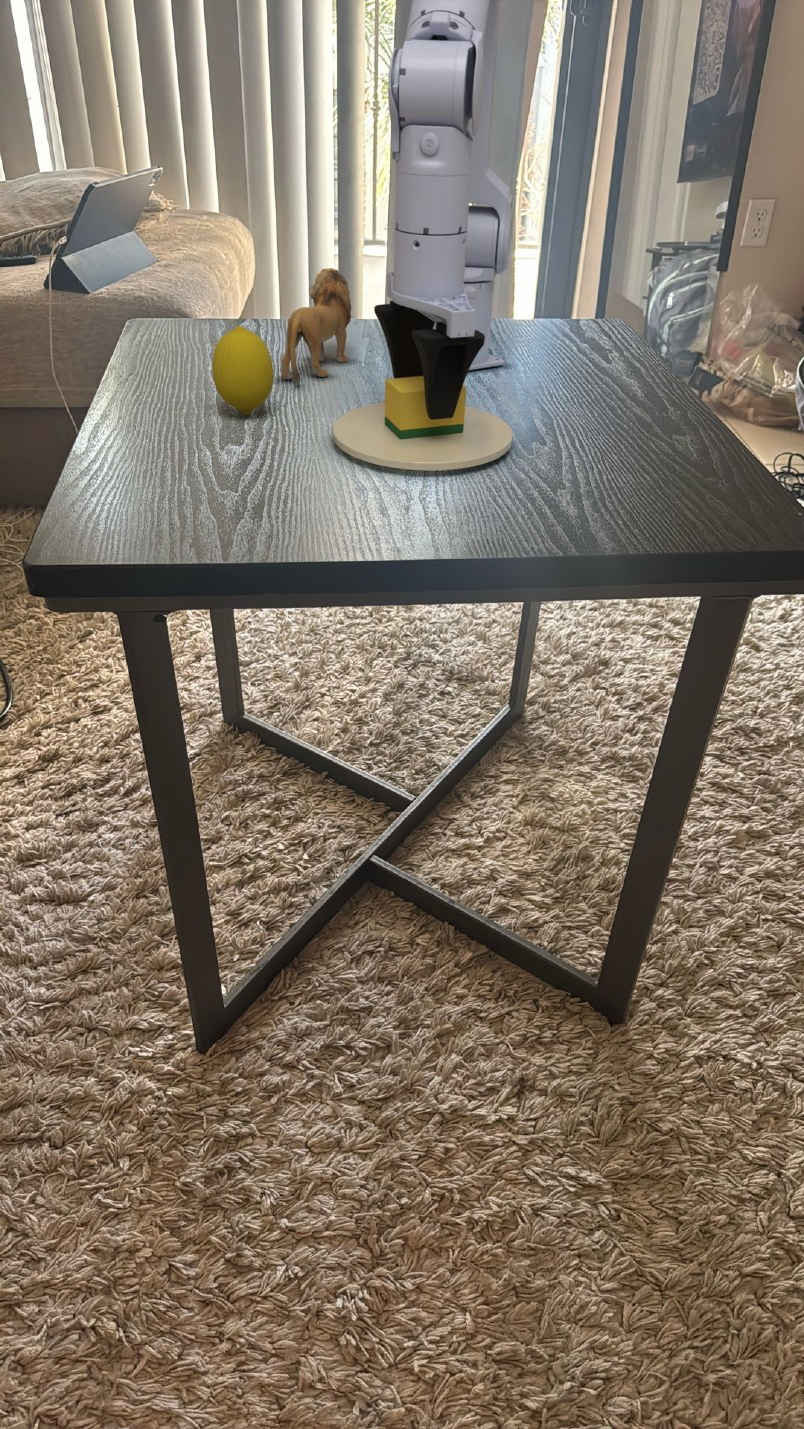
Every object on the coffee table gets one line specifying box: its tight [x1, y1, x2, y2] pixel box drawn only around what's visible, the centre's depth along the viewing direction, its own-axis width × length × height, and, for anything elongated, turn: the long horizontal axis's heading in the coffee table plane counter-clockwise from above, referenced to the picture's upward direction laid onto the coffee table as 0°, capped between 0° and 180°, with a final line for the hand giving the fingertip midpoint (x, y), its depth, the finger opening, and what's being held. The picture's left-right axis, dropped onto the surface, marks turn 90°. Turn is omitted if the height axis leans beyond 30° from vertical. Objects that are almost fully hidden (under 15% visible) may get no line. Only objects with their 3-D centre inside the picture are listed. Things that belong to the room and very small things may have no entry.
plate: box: [332, 401, 514, 472], centre depth 81 cm, size 16×16×1 cm
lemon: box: [212, 325, 274, 416], centre depth 84 cm, size 6×6×8 cm
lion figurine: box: [281, 267, 352, 384], centre depth 96 cm, size 15×5×9 cm, turn 168°
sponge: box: [384, 376, 467, 439], centre depth 80 cm, size 4×6×4 cm, turn 111°
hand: (423, 403), depth 80 cm, fingers open, 7 cm apart
